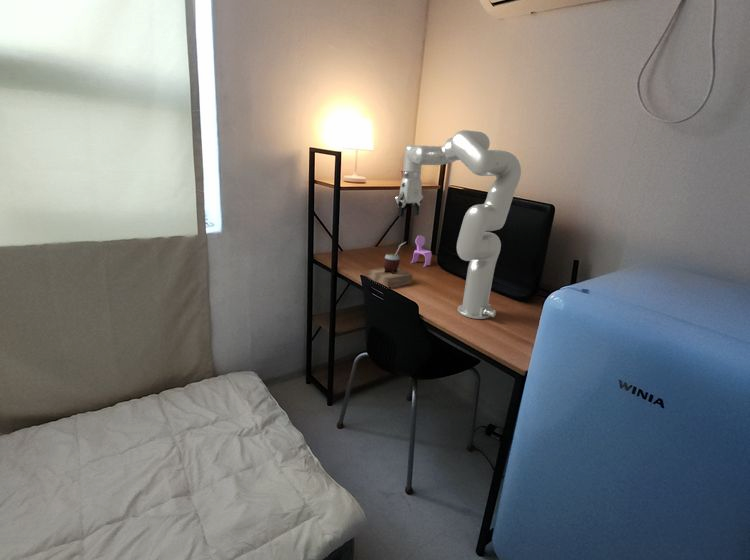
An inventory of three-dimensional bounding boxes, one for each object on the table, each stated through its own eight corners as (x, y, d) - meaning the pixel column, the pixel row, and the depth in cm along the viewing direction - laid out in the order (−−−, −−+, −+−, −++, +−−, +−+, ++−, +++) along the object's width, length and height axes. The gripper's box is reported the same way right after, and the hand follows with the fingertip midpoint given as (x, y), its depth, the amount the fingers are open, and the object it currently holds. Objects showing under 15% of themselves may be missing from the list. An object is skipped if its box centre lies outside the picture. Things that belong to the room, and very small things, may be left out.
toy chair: (423, 267, 211) (426, 239, 206) (409, 263, 217) (412, 235, 212) (432, 264, 217) (435, 237, 213) (418, 260, 223) (421, 233, 218)
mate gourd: (381, 269, 188) (383, 237, 183) (397, 269, 190) (400, 237, 185) (386, 274, 181) (389, 241, 176) (402, 274, 183) (406, 241, 179)
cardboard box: (411, 284, 186) (412, 274, 184) (387, 289, 178) (388, 279, 176) (391, 275, 197) (392, 265, 195) (368, 280, 188) (368, 269, 187)
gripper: (405, 176, 167) (401, 218, 172) (431, 176, 179) (427, 215, 184) (391, 175, 172) (388, 215, 177) (417, 174, 184) (414, 212, 189)
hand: (408, 215), depth 181 cm, fingers open, 9 cm apart
